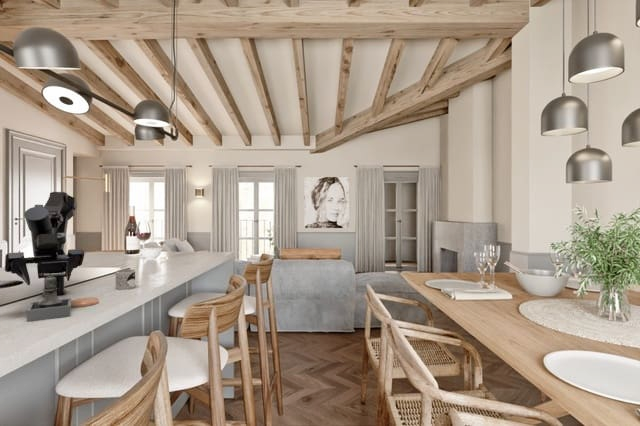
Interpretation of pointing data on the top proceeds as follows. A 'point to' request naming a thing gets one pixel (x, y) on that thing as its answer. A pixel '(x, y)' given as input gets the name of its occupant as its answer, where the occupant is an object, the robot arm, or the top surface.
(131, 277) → the grey speckled block
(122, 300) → the top surface
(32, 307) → the tub
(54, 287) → the grey tall domed piece
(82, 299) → the coaster
